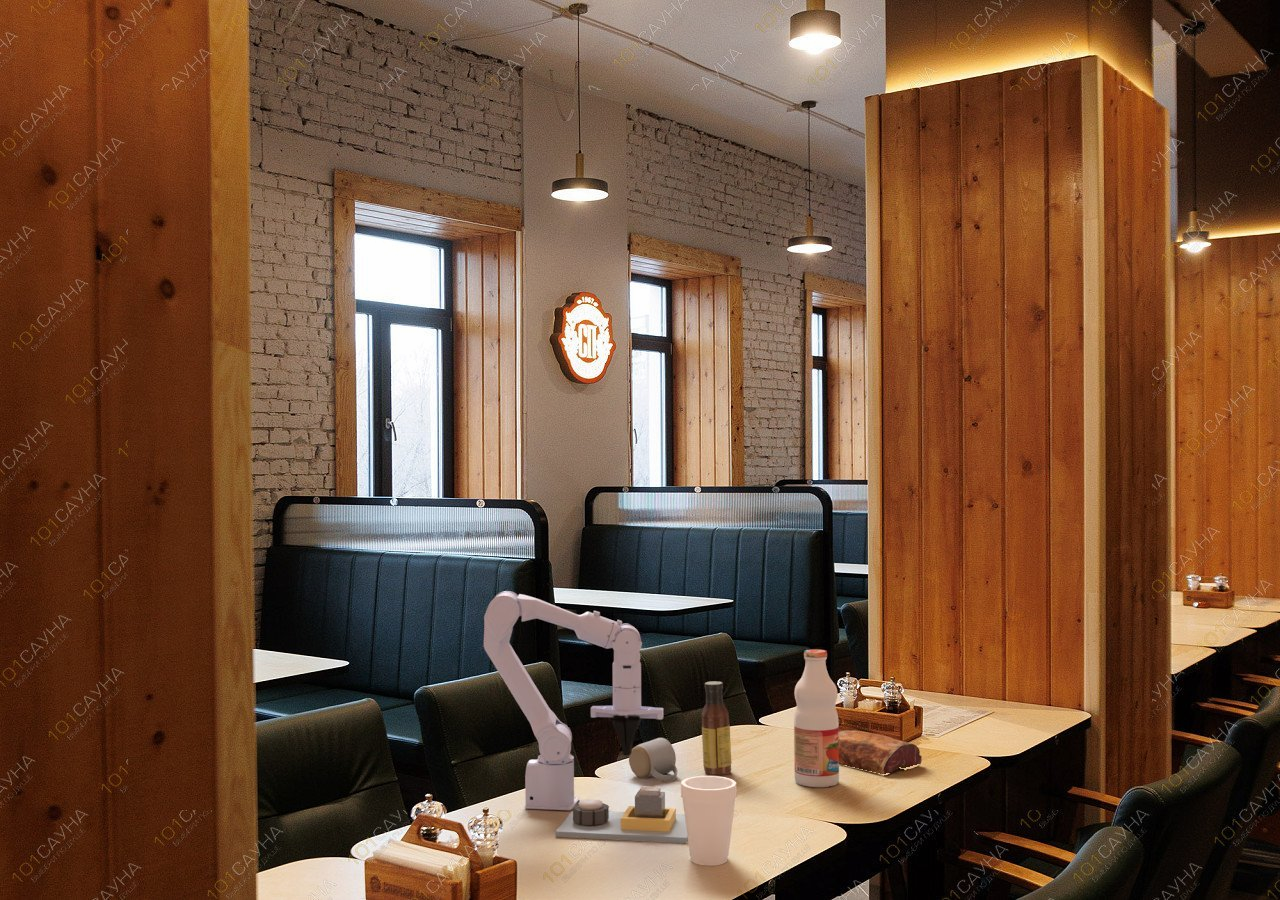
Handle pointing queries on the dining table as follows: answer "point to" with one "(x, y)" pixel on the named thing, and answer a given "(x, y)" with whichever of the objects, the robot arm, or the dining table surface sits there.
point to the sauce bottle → (715, 731)
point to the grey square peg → (650, 803)
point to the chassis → (630, 827)
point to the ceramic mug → (654, 760)
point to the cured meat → (876, 752)
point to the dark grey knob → (590, 812)
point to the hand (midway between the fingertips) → (627, 754)
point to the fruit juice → (816, 724)
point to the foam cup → (709, 817)
